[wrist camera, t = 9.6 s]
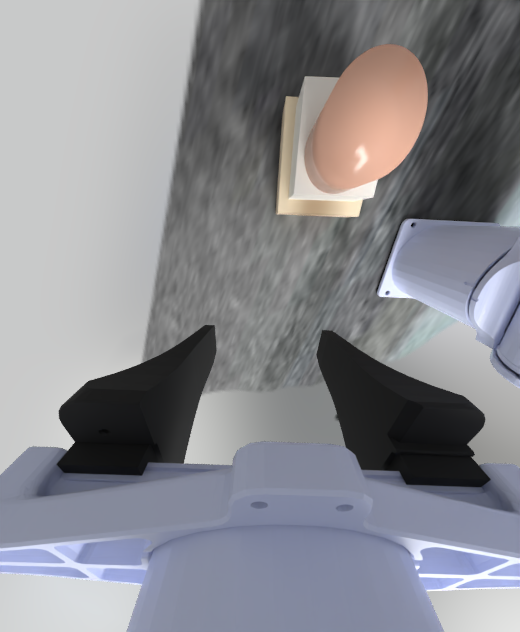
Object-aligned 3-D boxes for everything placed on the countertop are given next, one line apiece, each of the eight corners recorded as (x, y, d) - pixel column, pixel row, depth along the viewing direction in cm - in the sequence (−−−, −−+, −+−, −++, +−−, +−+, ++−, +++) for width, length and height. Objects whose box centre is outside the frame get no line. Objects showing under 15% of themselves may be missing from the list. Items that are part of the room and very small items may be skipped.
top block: (374, 109, 13) (403, 80, 10) (353, 201, 15) (373, 197, 13) (296, 106, 13) (305, 76, 10) (288, 199, 15) (293, 194, 13)
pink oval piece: (386, 108, 11) (449, 52, 7) (361, 197, 13) (400, 187, 9) (312, 99, 11) (338, 36, 7) (298, 190, 13) (313, 177, 9)
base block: (365, 122, 15) (387, 101, 13) (344, 217, 19) (358, 216, 16) (281, 118, 15) (286, 96, 13) (275, 214, 18) (277, 213, 16)
